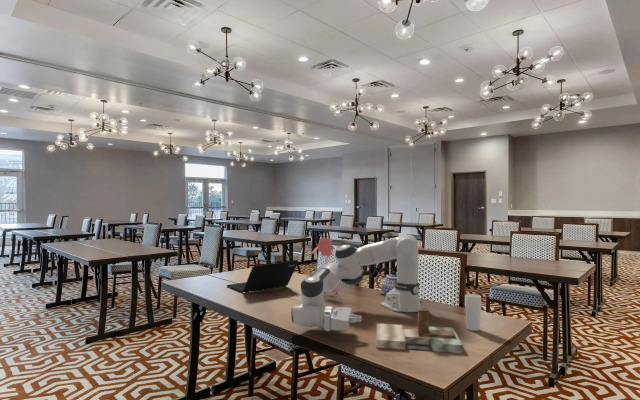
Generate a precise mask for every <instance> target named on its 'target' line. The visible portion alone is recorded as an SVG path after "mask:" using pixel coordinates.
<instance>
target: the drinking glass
mask: <svg viewBox="0 0 640 400" xmlns="http://www.w3.org/2000/svg"><path fill="white" fill-rule="evenodd" d="M464 309H465V320H466V322H465V323H466V329H467V330H468V331H472V332H479V330H480V327H481V325H480V324H481V314H482V296H481V295H480V294H476V293H466V294H464Z"/></svg>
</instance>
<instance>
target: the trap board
mask: <svg viewBox="0 0 640 400" xmlns="http://www.w3.org/2000/svg"><path fill="white" fill-rule="evenodd" d="M429 329H430V330H447V331H453V332H454V334H455V336H456V338H440V337H423V336H419V335H418V331H417V329H407V328H404V326H403V324H395V323H394V324H393V323H376V346H375V347H376V348H379V349H396V350H408V351H409V350H410V351H422V352H423V351H426V352H439V353H440V352H443V353H454V354H464V344H463V343H462V341H461V339H460V337H459V336H458V334H457V332H456V330H455V329H454V327H450V326H449V327H446V326H430V325H429Z"/></svg>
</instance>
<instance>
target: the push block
mask: <svg viewBox="0 0 640 400" xmlns="http://www.w3.org/2000/svg"><path fill="white" fill-rule="evenodd" d="M429 326H430V310H429V308H428V307H421V308H418V312H417V329H416V330H417V331H418V335H419V336H423V337H440V338H456V336H455V334H454V332H453V331H447V330H430V329H429Z"/></svg>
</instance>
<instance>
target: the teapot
mask: <svg viewBox="0 0 640 400" xmlns="http://www.w3.org/2000/svg"><path fill="white" fill-rule="evenodd" d="M380 277H381V278H382V281H381V286H380V284H379V278H380ZM393 282H397V271H394V270H393V271H392V272H391V273H390V274H386V275H385V276H384V275H383V274H382V273H380V274H378V275H377V276H376V278H375V283H376V286H377V288H379V289H380V290H382V292H383V294H385V295H386V294H387V293H388V292H390V291H391V290H392V289H394V287H395V284H394V283H393Z"/></svg>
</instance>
